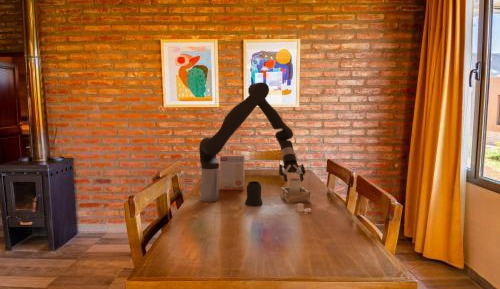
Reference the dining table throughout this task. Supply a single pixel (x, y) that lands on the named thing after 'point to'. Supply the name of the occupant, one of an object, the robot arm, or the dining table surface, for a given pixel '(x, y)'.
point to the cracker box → (232, 172)
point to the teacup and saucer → (301, 208)
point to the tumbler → (294, 185)
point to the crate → (295, 195)
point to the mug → (253, 194)
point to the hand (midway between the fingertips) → (294, 181)
